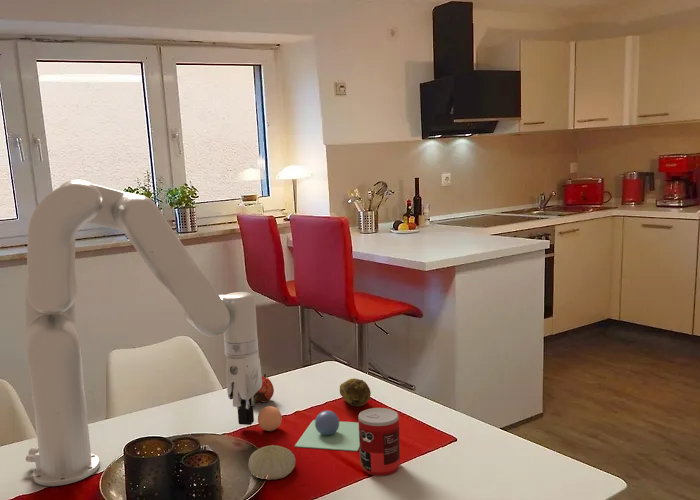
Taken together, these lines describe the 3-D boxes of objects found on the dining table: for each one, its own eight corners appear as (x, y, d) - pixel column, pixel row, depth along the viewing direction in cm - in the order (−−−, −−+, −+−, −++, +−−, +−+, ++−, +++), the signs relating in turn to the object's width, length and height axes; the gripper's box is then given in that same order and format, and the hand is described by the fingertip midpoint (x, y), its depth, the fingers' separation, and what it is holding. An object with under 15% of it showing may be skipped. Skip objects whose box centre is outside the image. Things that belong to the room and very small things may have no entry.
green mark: (294, 446, 137) (294, 445, 137) (313, 420, 150) (313, 419, 150) (357, 451, 134) (357, 450, 134) (370, 424, 147) (370, 423, 147)
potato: (373, 396, 164) (372, 367, 163) (370, 416, 151) (369, 384, 150) (341, 396, 165) (340, 367, 164) (335, 416, 152) (334, 384, 151)
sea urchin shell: (292, 475, 121) (261, 446, 121) (265, 501, 123) (236, 472, 123) (304, 453, 130) (276, 426, 130) (280, 477, 132) (252, 450, 132)
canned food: (360, 458, 130) (358, 407, 129) (399, 457, 130) (397, 406, 129) (359, 477, 123) (357, 423, 121) (401, 476, 123) (399, 422, 121)
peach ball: (272, 407, 142) (281, 429, 142) (279, 399, 148) (288, 421, 148) (250, 415, 144) (260, 437, 144) (258, 407, 149) (267, 429, 149)
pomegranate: (269, 416, 160) (285, 383, 166) (253, 400, 155) (271, 366, 161) (247, 414, 164) (264, 381, 170) (231, 398, 160) (249, 365, 166)
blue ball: (334, 416, 138) (337, 440, 139) (340, 406, 144) (343, 429, 144) (310, 416, 140) (313, 439, 140) (317, 406, 145) (320, 429, 146)
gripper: (243, 357, 136) (249, 438, 139) (268, 338, 150) (272, 411, 153) (211, 356, 138) (217, 436, 140) (239, 337, 152) (243, 409, 155)
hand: (246, 423), depth 147 cm, fingers closed
